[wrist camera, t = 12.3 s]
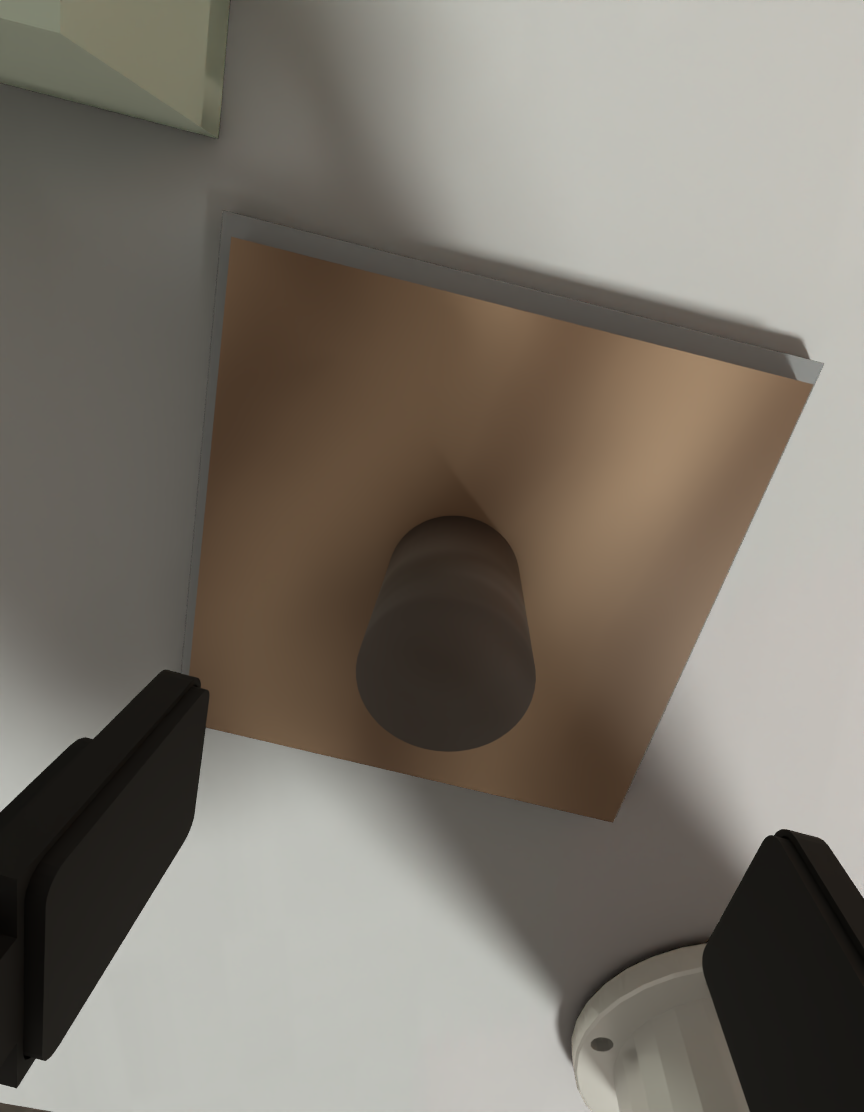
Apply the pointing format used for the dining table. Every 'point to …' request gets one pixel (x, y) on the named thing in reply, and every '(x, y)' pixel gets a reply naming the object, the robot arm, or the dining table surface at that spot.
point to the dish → (121, 56)
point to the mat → (467, 287)
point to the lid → (463, 528)
